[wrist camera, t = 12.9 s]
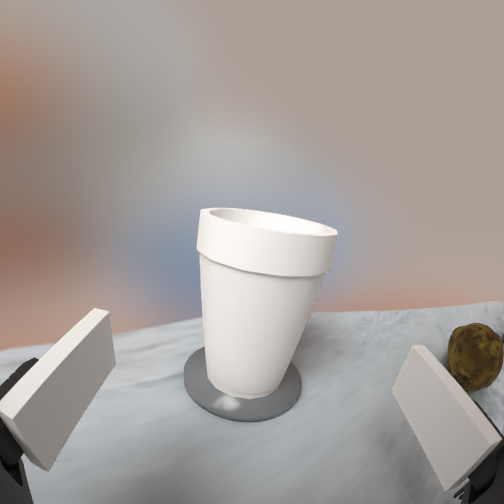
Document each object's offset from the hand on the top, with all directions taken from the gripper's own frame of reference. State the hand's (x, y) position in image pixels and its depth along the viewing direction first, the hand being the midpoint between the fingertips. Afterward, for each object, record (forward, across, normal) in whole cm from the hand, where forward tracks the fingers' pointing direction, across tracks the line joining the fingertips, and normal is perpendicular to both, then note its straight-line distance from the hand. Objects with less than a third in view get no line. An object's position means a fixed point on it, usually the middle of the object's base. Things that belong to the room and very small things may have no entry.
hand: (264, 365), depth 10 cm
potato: (+9, +24, -10) cm, 28 cm away
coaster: (+10, 0, -9) cm, 14 cm away
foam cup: (+10, 0, -9) cm, 13 cm away
